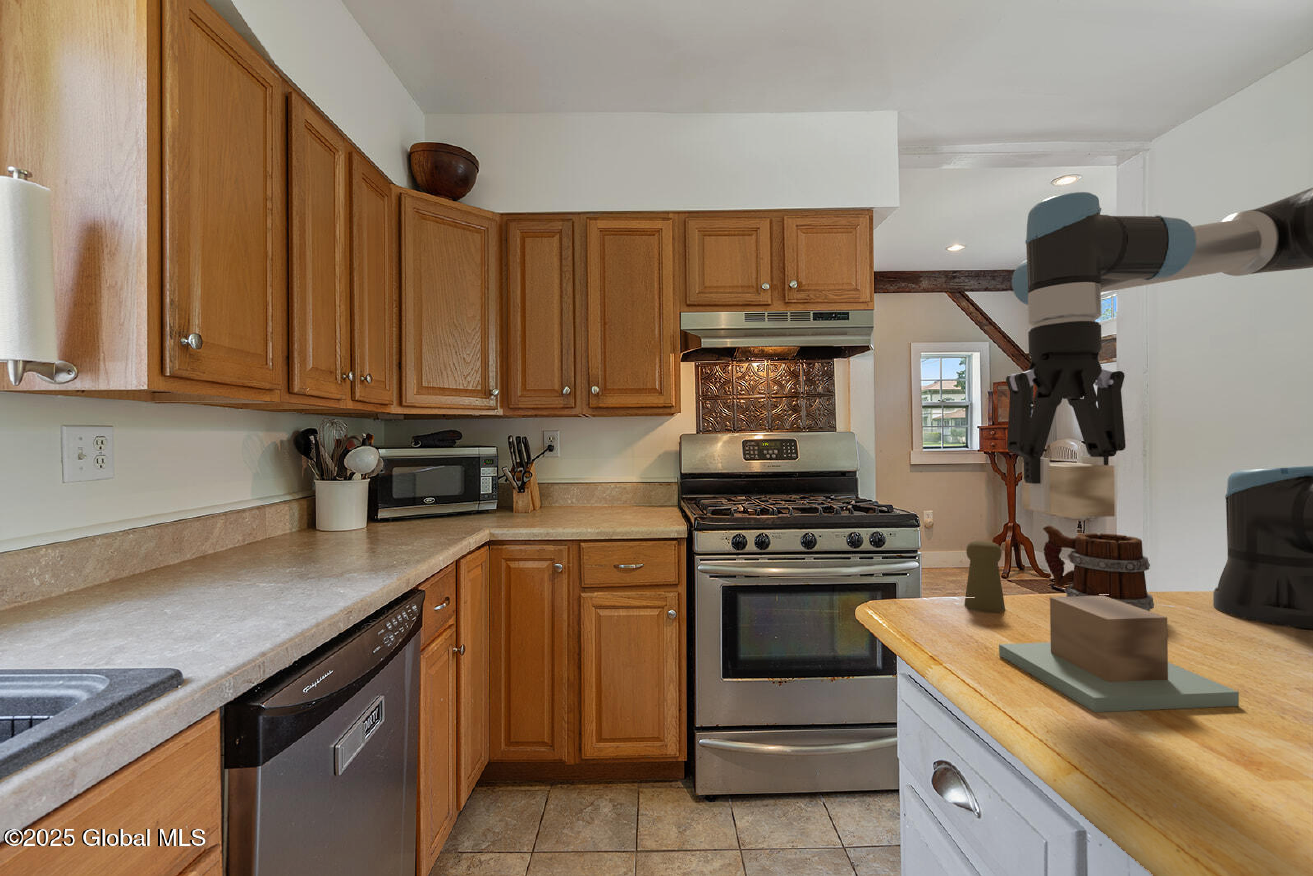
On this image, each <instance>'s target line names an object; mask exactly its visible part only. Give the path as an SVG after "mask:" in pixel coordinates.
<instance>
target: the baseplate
mask: <svg viewBox="0 0 1313 876" xmlns="http://www.w3.org/2000/svg"><path fill="white" fill-rule="evenodd" d="M999 655H1000V656H999ZM998 656H999V657H1001V658H1003V659H1004V660H1006V659H1007V660H1006V661H1008V662H1009V661H1010V663H1011V664H1012V665H1014V664H1015V666H1016V665H1017V666H1016V667H1018V668H1020V669H1021V670H1023V671H1025V672H1026V673H1028V674H1029V673H1030V675H1031V676H1032V677H1035V678H1036V679H1038V680H1040V681H1041V682H1043V683H1044V684H1046V685H1048V686H1050V687H1051V688H1053V689H1055V690H1056V691H1058V692H1060V693H1062V694H1063V695H1065V696H1066V697H1068V698H1070V699H1072V700H1074V701H1075V702H1076V703H1078V704H1080V705H1081V706H1083V707H1085V708H1087V709H1089V710H1090V711H1092V712H1094V713H1101V712H1102V713H1104V712H1124V711H1126V712H1127V711H1128V712H1129V711H1146V710H1147V711H1149V710H1150V711H1153V710H1171V709H1172V710H1173V709H1175V710H1176V709H1195V708H1196V709H1197V708H1198V709H1199V708H1200V709H1201V708H1220V707H1221V708H1222V707H1223V708H1224V707H1240V693H1239V691H1238V690H1235V689H1233V688H1231V687H1228V686H1225V685H1223V684H1221V683H1219V682H1217V681H1215V680H1212V679H1209V678H1206V677H1204V676H1201V675H1200V674H1198V673H1195V672H1192V671H1190V670H1187V669H1185V668H1183V667H1181V666H1178V665H1175V664H1173V663H1171V662H1169V661H1168V680H1147V681H1120V682H1107V681H1105V680H1103V679H1101V678H1099V677H1097V676H1095V675H1093V674H1091V673H1090V672H1088V671H1086V670H1084V669H1082V668H1080V667H1078V666H1076V665H1074V664H1072V663H1070V662H1068V661H1066V660H1064V659H1063V658H1061V657H1059V656H1057V655H1055V654H1053V653H1051V641H1049V642H1027V643H1026V642H1024V643H1023V642H1022V643H1000V644H998Z"/></svg>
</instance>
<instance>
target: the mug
mask: <svg viewBox="0 0 1313 876" xmlns="http://www.w3.org/2000/svg"><path fill="white" fill-rule="evenodd" d="M1042 530H1043V531H1044V532H1045V533H1046V534H1047V536H1048V537H1047V538H1048V541H1045V544H1044V546H1043V547H1044V548H1043V551H1044V552H1043V555H1044V559H1045V561H1046V563H1047V567H1048V569H1049V572H1051V575H1052V576H1053V584H1054V586H1055V587H1058V588H1062V587H1064V586H1066V585H1068V584H1069V583H1072V584H1069V585H1068V586H1067V587H1066V588H1065V589H1064V593H1065V594H1066V597H1075V596H1106V597H1109V598H1112V599H1115V600H1118V601H1121V602H1124V603H1127V604H1129V605H1132V606H1135V607H1138V608H1141V609H1144V610H1147V611H1150V612H1151V610H1152V609H1154V608H1155V603H1154V598H1153V595H1152V594H1150V593H1149V592H1147V591H1148V590H1147V589H1148V588H1147V582H1146V574H1145V572H1146V571H1148V570H1150V567H1151V564H1150V562H1149V558H1148V557H1147V556H1145V555H1144V553H1143V552H1144V551H1143V540H1142V539H1140V538H1138V537H1134V536H1130V535H1129V536H1127V535H1125V534H1123V535H1122V534H1116V533H1115V534H1114V533H1099V534H1098V533H1095V532H1094V533H1093V532H1090V533H1089V532H1085V533H1078V534H1076V536H1075V537H1070V536H1067V535H1065V534H1063V533H1062V531H1060V530H1059V529H1058V528H1056V527H1054V526H1052V525H1047V526H1045V527H1043V528H1042ZM1063 549H1070V550H1071V549H1072V550H1071V551H1070V553H1068V554H1067V558H1068V559H1069V562H1070V563H1072V564H1073V569H1071V570H1069V571H1067V572H1066V573H1065V566H1066V562H1065V561H1064V559H1062V557H1060V555H1061V552H1062V550H1063ZM1064 573H1065V574H1064ZM1099 594H1109V595H1099Z"/></svg>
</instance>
